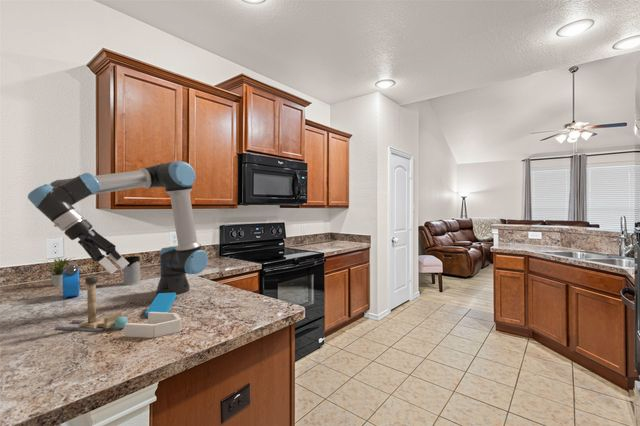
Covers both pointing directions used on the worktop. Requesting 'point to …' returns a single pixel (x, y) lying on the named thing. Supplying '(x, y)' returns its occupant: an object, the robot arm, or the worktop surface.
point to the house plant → (58, 271)
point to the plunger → (92, 308)
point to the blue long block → (161, 303)
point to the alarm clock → (71, 281)
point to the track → (79, 327)
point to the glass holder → (132, 271)
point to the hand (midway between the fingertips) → (120, 269)
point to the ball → (120, 322)
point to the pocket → (155, 325)
